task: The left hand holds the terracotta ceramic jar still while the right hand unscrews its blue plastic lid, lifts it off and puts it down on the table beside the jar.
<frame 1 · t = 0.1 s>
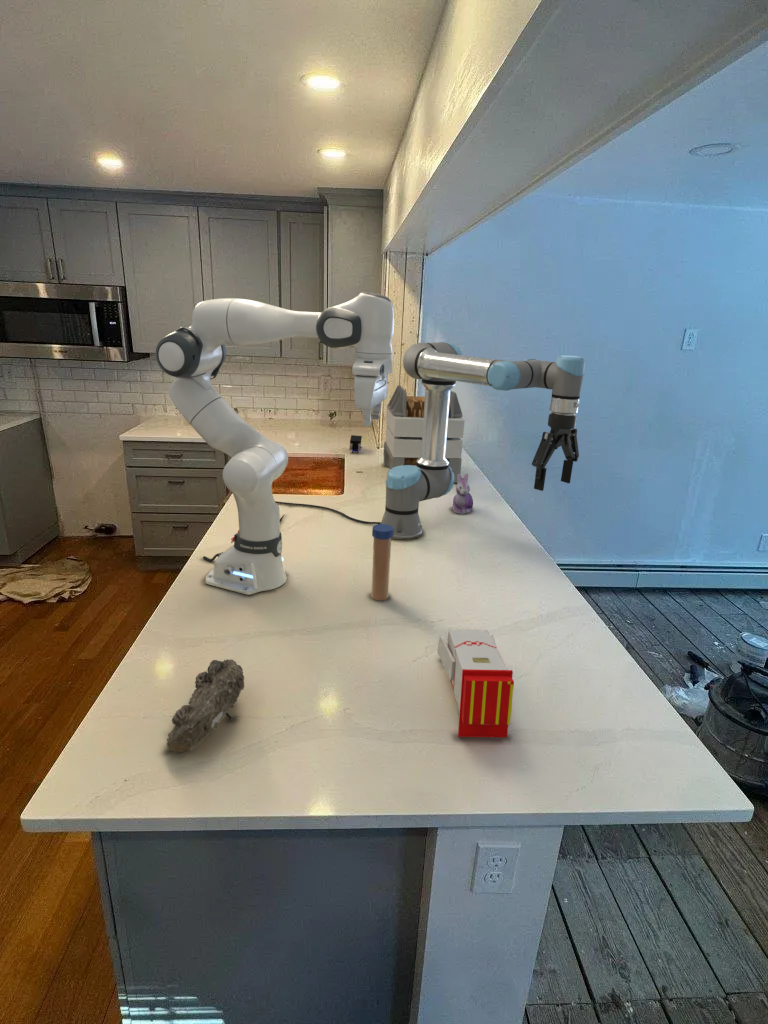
left hand: (371, 422, 141), 48 cm above the counter, tool pointing down, fingers open, 8 cm apart
right hand: (552, 485, 166), 28 cm above the counter, tool pointing down, fingers open, 13 cm apart
figurine character: (355, 451, 311), on the counter
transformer: (419, 473, 275), on the counter
jar: (379, 596, 156), on the counter
toy: (469, 691, 119), on the counter
fossil: (212, 717, 108), on the counter
lid: (382, 528, 149), point 20 cm above the counter, screwed on, not yet turned
feather: (282, 518, 209), on the counter
figurine: (462, 510, 226), on the counter
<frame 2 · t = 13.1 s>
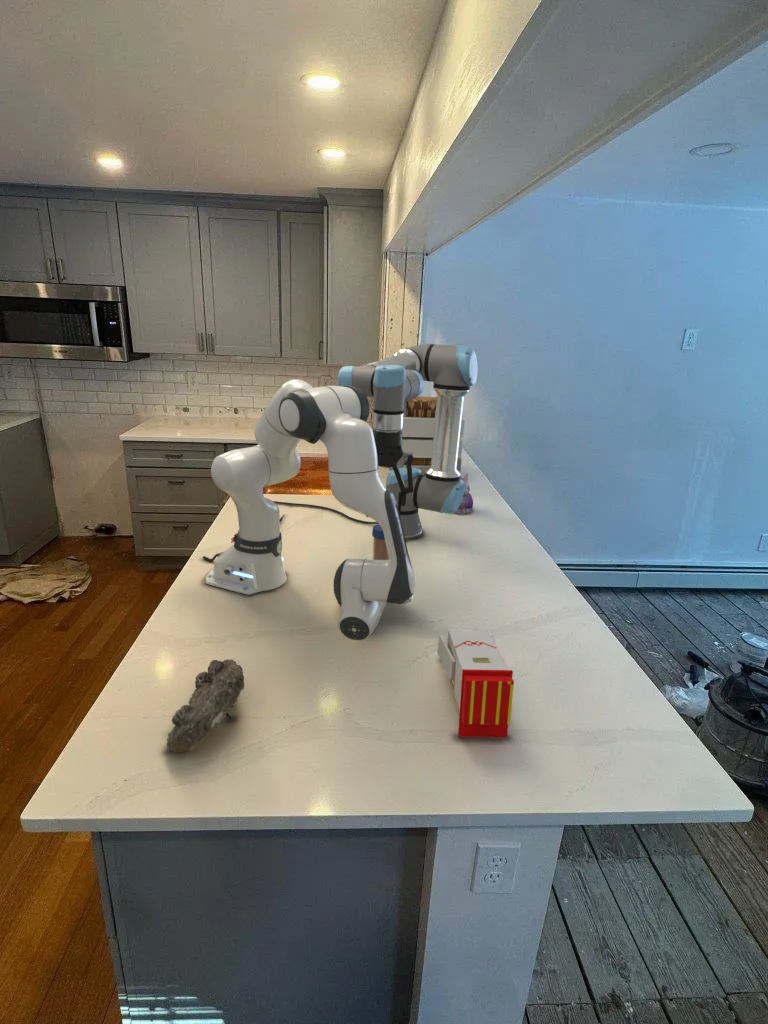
left hand: (381, 573, 155), 7 cm above the counter, tool horizontal, fingers closed on jar, 4 cm apart
right hand: (383, 516, 148), 24 cm above the counter, tool pointing down, fingers open, 7 cm apart
jar: (379, 596, 156), on the counter, touching left hand
everything else where it was.
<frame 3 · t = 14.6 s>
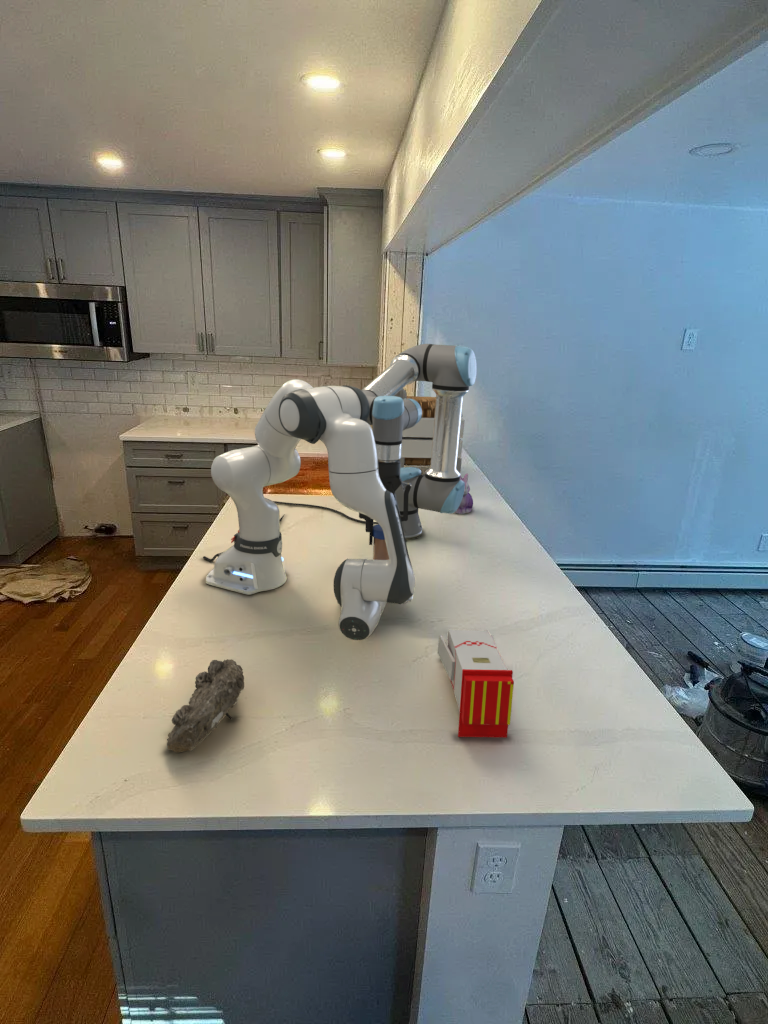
left hand: (381, 573, 155), 7 cm above the counter, tool horizontal, fingers closed on jar, 4 cm apart
right hand: (382, 543, 151), 16 cm above the counter, tool pointing down, fingers closed on lid, 5 cm apart
jar: (379, 596, 156), on the counter, touching left hand
lid: (382, 528, 149), point 20 cm above the counter, screwed on, not yet turned, touching right hand
everything else where it was.
when the right hand's fingers open (16 cm above the counter, at t = 16.3 s): lid stays where it is, point 20 cm above the counter.
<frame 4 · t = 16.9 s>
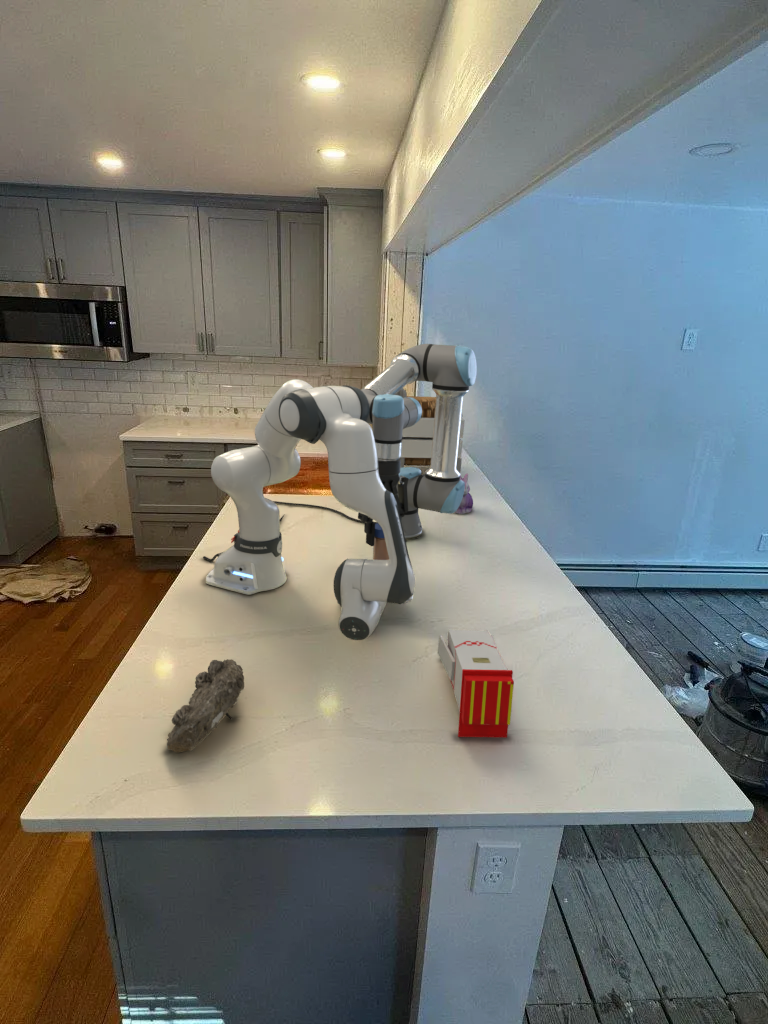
left hand: (381, 573, 155), 7 cm above the counter, tool horizontal, fingers closed on jar, 4 cm apart
right hand: (382, 541, 150), 16 cm above the counter, tool pointing down, fingers open, 7 cm apart
jar: (379, 596, 156), on the counter, touching left hand
lid: (383, 527, 149), point 20 cm above the counter, turned 111° so far, risen 0.4 cm, still on its thread
everything else where it was.
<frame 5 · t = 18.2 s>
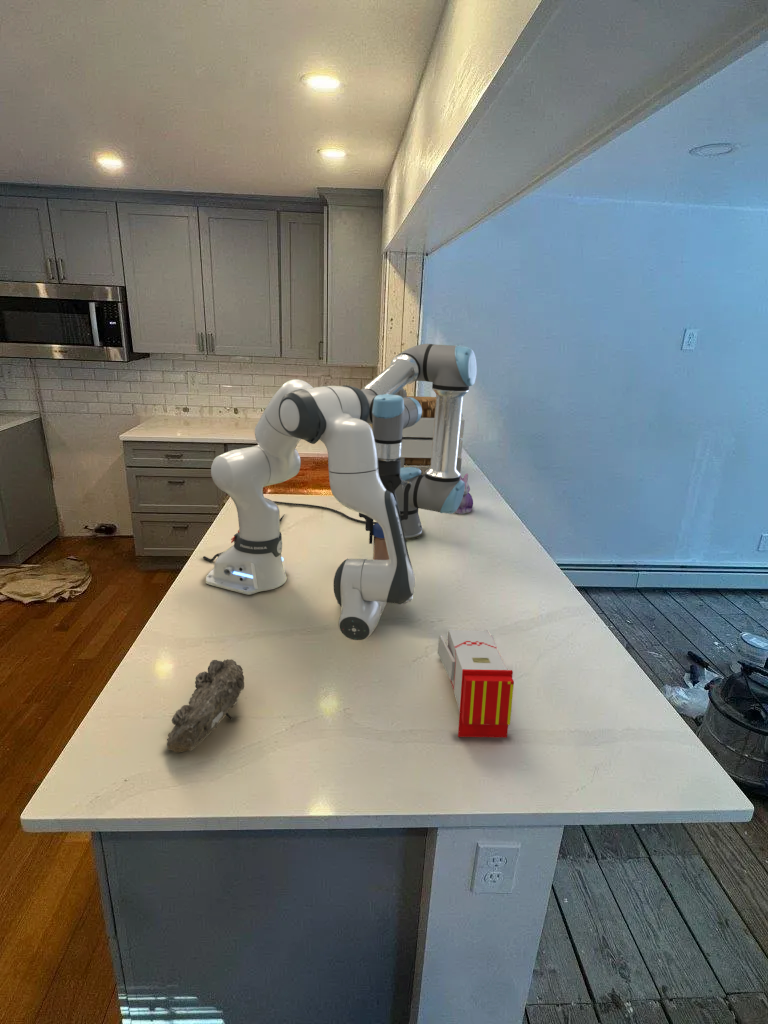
left hand: (381, 573, 155), 7 cm above the counter, tool horizontal, fingers closed on jar, 4 cm apart
right hand: (382, 542, 151), 16 cm above the counter, tool pointing down, fingers closed on lid, 5 cm apart
jar: (379, 596, 156), on the counter, touching left hand
lid: (383, 527, 149), point 20 cm above the counter, turned 111° so far, risen 0.4 cm, still on its thread, touching right hand
everything else where it was.
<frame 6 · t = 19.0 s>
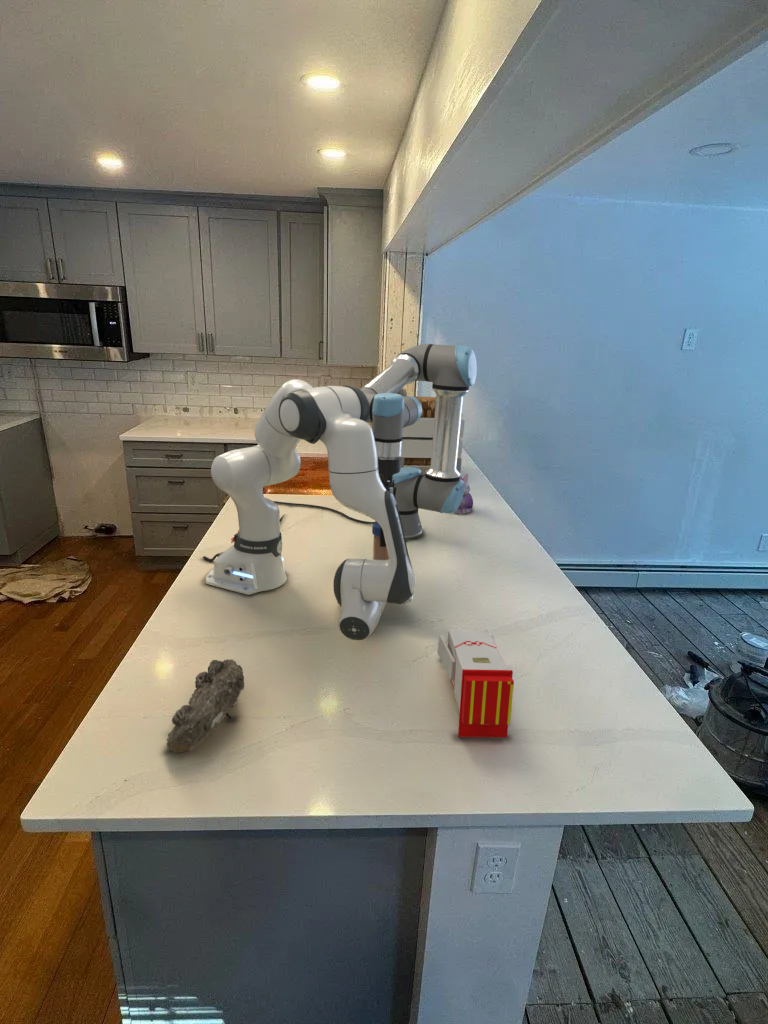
left hand: (381, 573, 155), 7 cm above the counter, tool horizontal, fingers closed on jar, 4 cm apart
right hand: (382, 541, 150), 16 cm above the counter, tool pointing down, fingers closed on lid, 5 cm apart
jar: (379, 596, 156), on the counter, touching left hand
lid: (383, 526, 149), point 21 cm above the counter, off its thread, touching right hand
everything else where it was.
when the right hand's fingers open (0 cm above the counter, at t = 25.4 s): lid drops 2 cm, point 2 cm above the counter.
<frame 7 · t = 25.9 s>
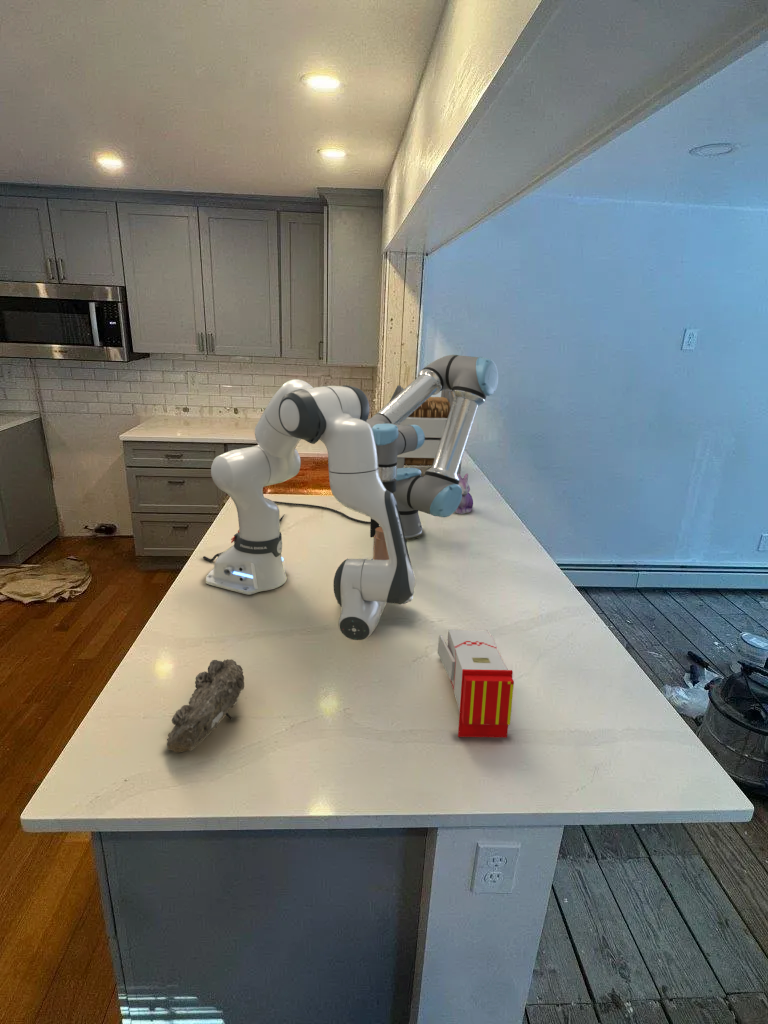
left hand: (381, 573, 155), 7 cm above the counter, tool horizontal, fingers closed on jar, 5 cm apart
right hand: (381, 545, 171), 7 cm above the counter, tool pointing down, fingers open, 13 cm apart
jar: (379, 596, 156), on the counter, touching left hand
lid: (378, 562, 172), point 2 cm above the counter, off its thread
everything else where it was.
when the left hand's fingers open (7 cm above the counter, at t = 26.0 s): jar stays where it is, on the counter.
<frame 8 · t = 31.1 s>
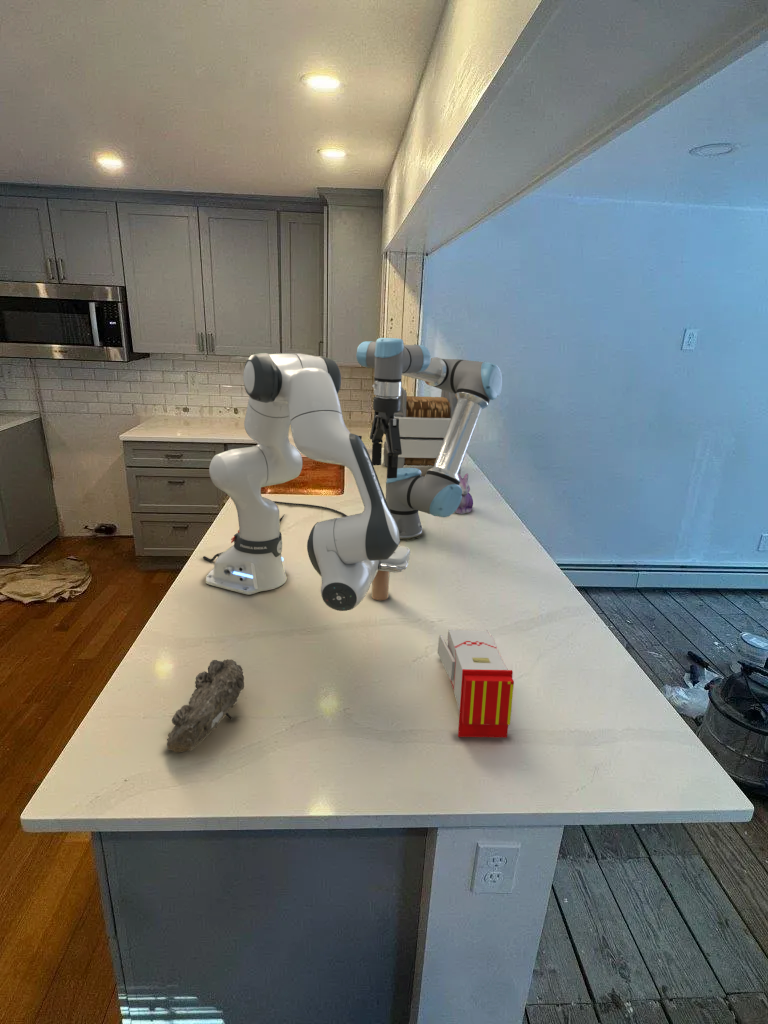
left hand: (372, 541, 138), 21 cm above the counter, tool horizontal, fingers open, 8 cm apart
right hand: (383, 471, 163), 31 cm above the counter, tool pointing down, fingers open, 13 cm apart
jar: (379, 596, 156), on the counter
everything else where it was.
at the end: lid came off its thread; lid point 1.9 cm above the counter; the left hand is holding nothing; the right hand is holding nothing; jar tilted 0°; jar moved 0.0 cm from its start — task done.
